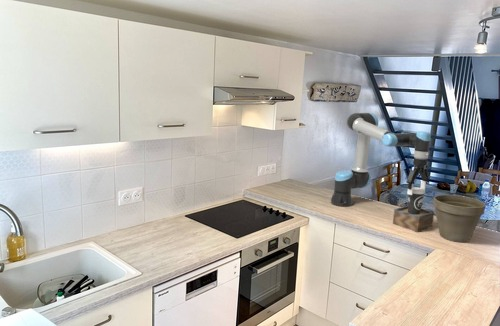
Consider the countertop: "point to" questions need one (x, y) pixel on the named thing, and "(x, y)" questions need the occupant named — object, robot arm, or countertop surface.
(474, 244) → the countertop surface
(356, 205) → the countertop surface
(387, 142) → the robot arm
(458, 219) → the plant pot
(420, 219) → the wooden box
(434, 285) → the countertop surface
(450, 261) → the countertop surface
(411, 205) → the coffee cup
